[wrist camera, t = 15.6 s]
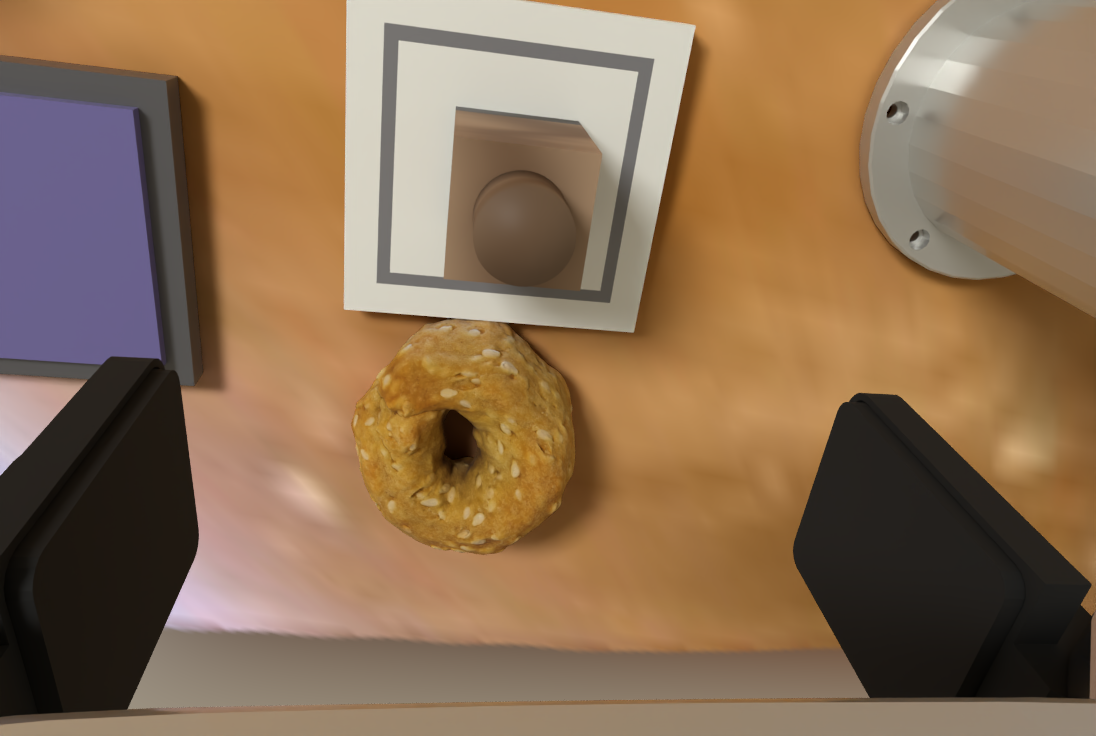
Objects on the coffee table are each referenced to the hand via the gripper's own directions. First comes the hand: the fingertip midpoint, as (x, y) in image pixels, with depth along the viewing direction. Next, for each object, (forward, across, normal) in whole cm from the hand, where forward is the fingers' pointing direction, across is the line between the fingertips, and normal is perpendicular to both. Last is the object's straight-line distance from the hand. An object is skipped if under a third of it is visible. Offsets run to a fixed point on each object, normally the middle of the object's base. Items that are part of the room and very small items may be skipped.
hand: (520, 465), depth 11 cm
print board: (+21, -1, +1) cm, 21 cm away
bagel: (+21, 0, +12) cm, 25 cm away
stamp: (+20, -1, +1) cm, 20 cm away
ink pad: (+21, +17, +4) cm, 27 cm away
